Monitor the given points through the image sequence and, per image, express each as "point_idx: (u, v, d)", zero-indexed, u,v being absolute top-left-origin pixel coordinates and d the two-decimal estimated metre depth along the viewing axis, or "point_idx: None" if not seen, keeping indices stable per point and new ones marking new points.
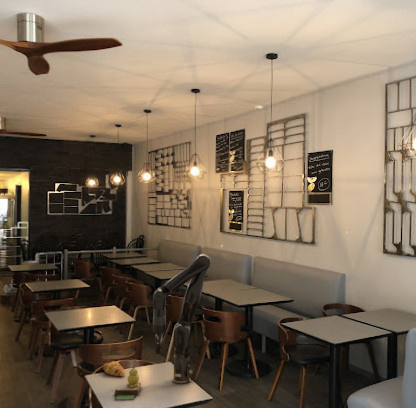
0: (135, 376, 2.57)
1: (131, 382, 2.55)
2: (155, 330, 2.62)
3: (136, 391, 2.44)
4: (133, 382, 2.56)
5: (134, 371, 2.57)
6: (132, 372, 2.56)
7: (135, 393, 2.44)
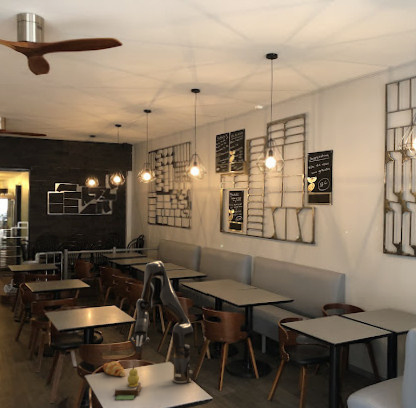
0: (135, 376, 2.57)
1: (131, 382, 2.55)
2: None
3: (136, 391, 2.44)
4: (133, 382, 2.56)
5: (134, 371, 2.57)
6: (132, 372, 2.56)
7: (135, 393, 2.44)
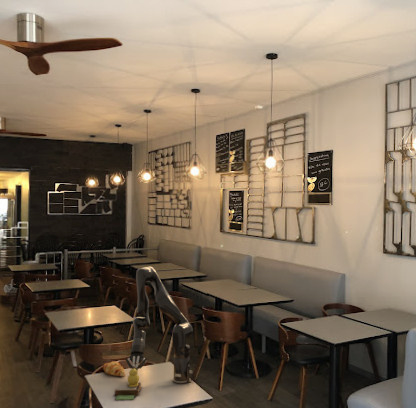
0: (135, 376, 2.57)
1: (131, 382, 2.55)
2: None
3: (136, 391, 2.44)
4: (133, 382, 2.56)
5: (134, 371, 2.57)
6: (132, 372, 2.56)
7: (135, 393, 2.44)
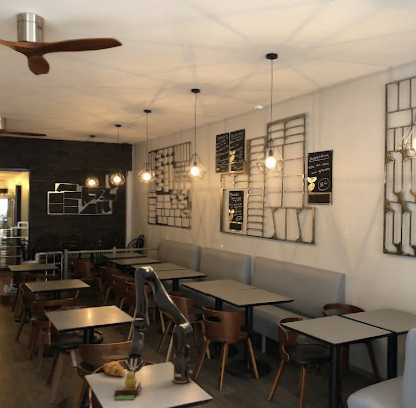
0: (132, 379, 2.52)
1: (128, 385, 2.51)
2: None
3: (136, 391, 2.44)
4: (130, 385, 2.51)
5: (131, 374, 2.52)
6: (129, 375, 2.52)
7: (135, 393, 2.44)
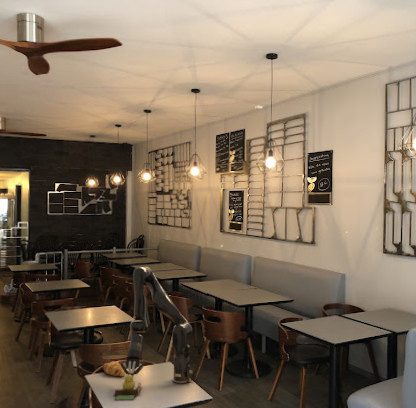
0: (131, 382, 2.48)
1: None
2: None
3: (136, 391, 2.44)
4: None
5: (130, 377, 2.48)
6: (127, 378, 2.47)
7: (135, 393, 2.44)
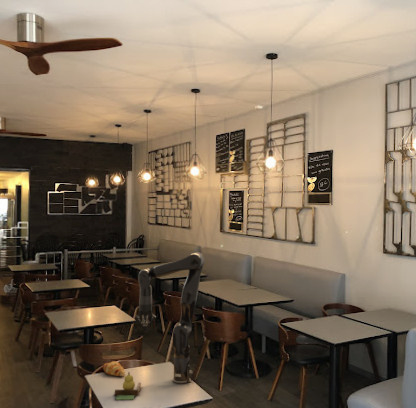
0: (131, 382, 2.48)
1: None
2: None
3: (136, 391, 2.44)
4: None
5: (130, 377, 2.48)
6: (127, 378, 2.47)
7: (135, 393, 2.44)
